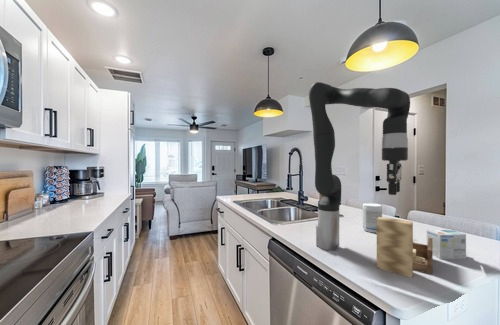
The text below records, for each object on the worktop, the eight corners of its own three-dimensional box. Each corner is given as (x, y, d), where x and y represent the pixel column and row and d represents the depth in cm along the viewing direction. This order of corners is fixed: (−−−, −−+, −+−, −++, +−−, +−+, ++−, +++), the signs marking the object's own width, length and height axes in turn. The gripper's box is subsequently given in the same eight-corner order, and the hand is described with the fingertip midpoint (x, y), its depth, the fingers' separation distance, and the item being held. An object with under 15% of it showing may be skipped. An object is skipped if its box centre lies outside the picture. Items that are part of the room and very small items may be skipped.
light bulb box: (450, 254, 89) (450, 228, 89) (467, 261, 82) (467, 234, 82) (425, 254, 88) (425, 229, 88) (440, 262, 82) (440, 234, 82)
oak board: (376, 269, 76) (376, 219, 76) (379, 264, 79) (379, 216, 79) (411, 279, 69) (411, 224, 69) (412, 273, 72) (412, 221, 72)
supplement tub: (386, 232, 116) (386, 205, 116) (372, 234, 113) (371, 206, 113) (372, 227, 125) (372, 202, 125) (358, 228, 123) (358, 203, 123)
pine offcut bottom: (384, 259, 81) (384, 252, 81) (385, 256, 84) (385, 249, 84) (424, 270, 74) (424, 261, 74) (424, 266, 76) (424, 258, 76)
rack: (377, 262, 82) (377, 239, 82) (384, 250, 93) (384, 229, 93) (432, 277, 71) (432, 250, 71) (432, 261, 82) (432, 238, 82)
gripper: (385, 148, 82) (385, 190, 82) (377, 146, 71) (377, 194, 71) (409, 147, 77) (409, 192, 77) (405, 145, 66) (405, 197, 66)
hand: (394, 193), depth 74 cm, fingers open, 8 cm apart
